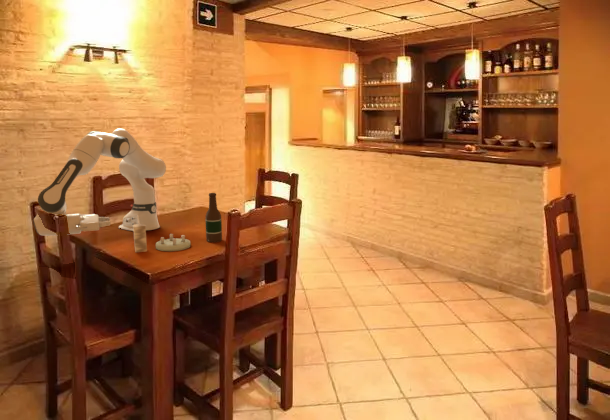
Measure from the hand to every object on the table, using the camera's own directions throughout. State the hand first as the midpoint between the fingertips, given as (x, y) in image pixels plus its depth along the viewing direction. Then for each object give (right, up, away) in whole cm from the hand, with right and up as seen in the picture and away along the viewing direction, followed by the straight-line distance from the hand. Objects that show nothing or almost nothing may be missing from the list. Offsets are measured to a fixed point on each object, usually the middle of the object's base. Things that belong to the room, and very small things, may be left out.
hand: (110, 221), depth 220 cm
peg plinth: (+24, -12, +14) cm, 31 cm away
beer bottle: (+42, -10, +25) cm, 50 cm away
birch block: (+11, -14, +8) cm, 19 cm away
